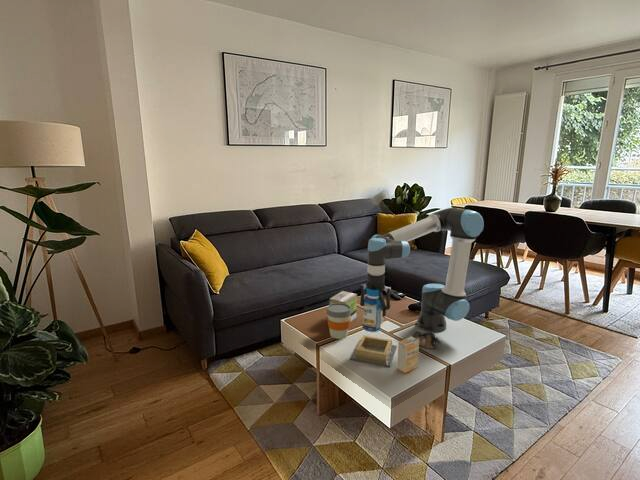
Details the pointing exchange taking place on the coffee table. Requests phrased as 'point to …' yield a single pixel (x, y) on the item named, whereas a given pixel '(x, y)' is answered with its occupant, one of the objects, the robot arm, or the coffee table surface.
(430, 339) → the bison figurine
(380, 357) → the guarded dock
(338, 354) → the coffee table surface
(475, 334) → the coffee table surface
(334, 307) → the reusable coffee cup
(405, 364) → the supplement box
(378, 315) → the beverage bottle
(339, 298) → the tea box
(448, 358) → the coffee table surface
